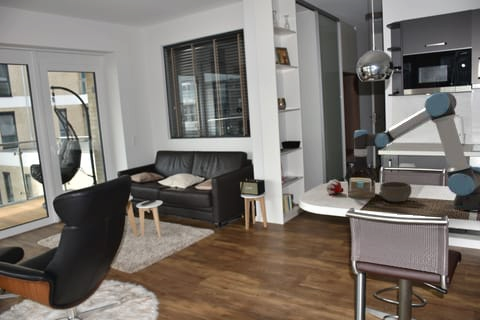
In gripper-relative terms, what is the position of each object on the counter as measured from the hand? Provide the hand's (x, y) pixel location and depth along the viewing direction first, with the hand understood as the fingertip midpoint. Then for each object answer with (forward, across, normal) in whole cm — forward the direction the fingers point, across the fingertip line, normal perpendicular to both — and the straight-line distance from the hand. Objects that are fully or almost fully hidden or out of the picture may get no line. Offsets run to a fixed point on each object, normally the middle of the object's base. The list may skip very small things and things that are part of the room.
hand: (360, 190), depth 242 cm
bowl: (+6, -20, -1) cm, 21 cm away
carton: (+6, 0, -12) cm, 13 cm away
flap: (-2, 0, -8) cm, 9 cm away
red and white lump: (+6, +17, -12) cm, 22 cm away
